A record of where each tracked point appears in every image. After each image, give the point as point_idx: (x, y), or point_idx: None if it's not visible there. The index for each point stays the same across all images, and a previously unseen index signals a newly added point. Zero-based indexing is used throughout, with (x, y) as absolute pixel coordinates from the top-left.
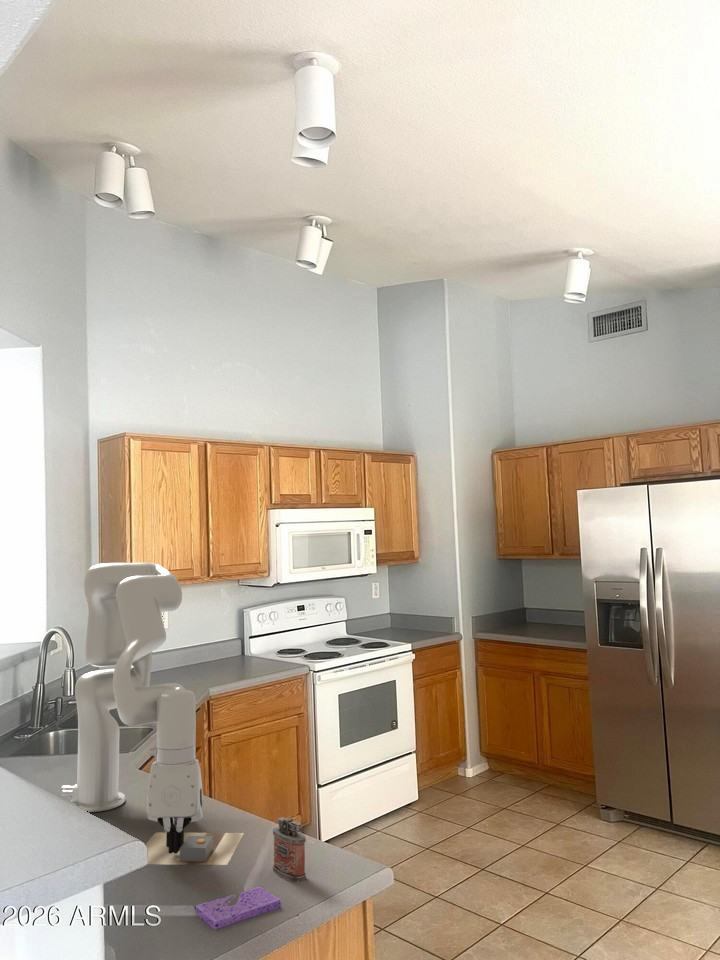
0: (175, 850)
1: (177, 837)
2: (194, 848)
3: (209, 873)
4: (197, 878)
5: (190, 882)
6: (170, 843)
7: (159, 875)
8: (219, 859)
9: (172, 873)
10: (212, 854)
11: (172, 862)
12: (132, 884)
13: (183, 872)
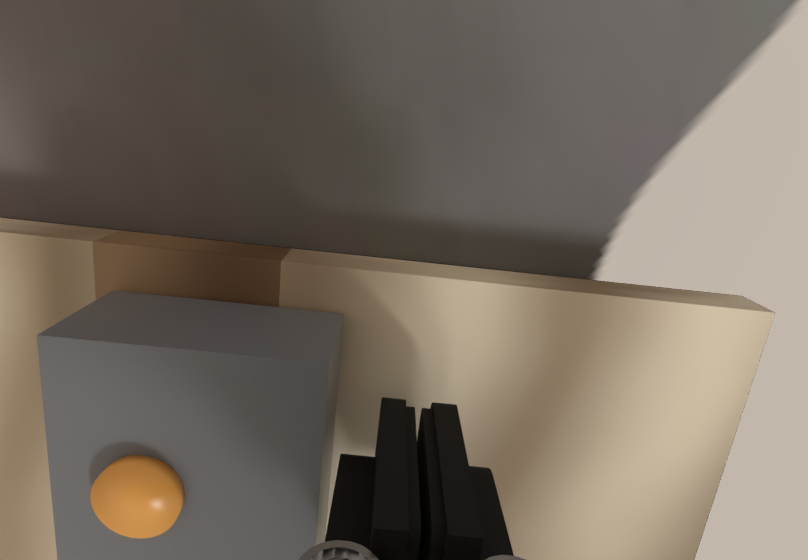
0: (392, 409)
1: (373, 507)
2: (163, 343)
3: (84, 190)
4: (157, 99)
5: (196, 20)
6: (446, 449)
7: (488, 188)
8: (9, 337)
9: (389, 217)
10: None
11: (405, 313)
12: (692, 25)
13: (304, 228)
